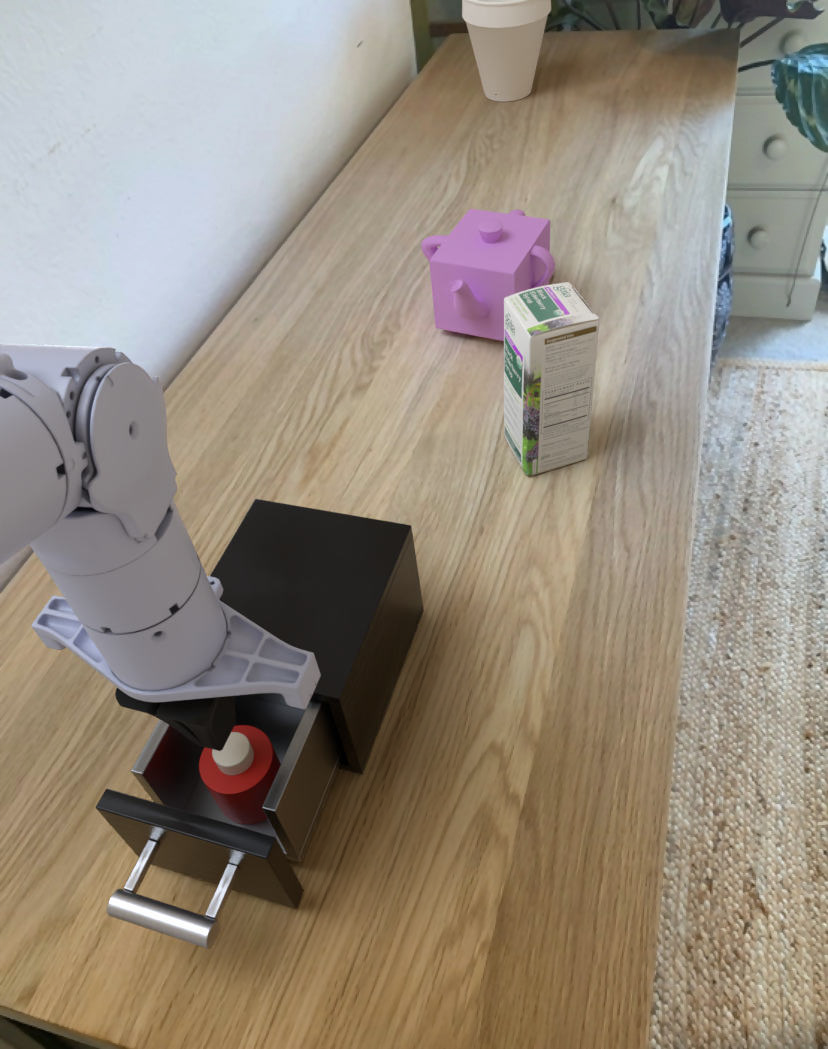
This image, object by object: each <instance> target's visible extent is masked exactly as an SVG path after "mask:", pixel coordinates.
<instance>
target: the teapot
mask: <svg viewBox="0 0 828 1049" xmlns="http://www.w3.org/2000/svg"><path fill="white" fill-rule="evenodd" d="M420 249H421V251H422V253H423V255H424V257H425V258H426V259H427V261H428V262H429V274H430V284H431V293H432V305H433V317H434V326H435V329H437V330H444V331H448V332H453V333H458V334H459V333H460V334H464V335H469V336H474V337H480V338H485V339H490V340H494V341H495V340H496V341H500V342H501V341H502V342H504V298H505V297H508V296H510V295H513V294H516V293H519V292H522V291H525V290H528V289H532V288H536V287H541V286H545V285H550V279H551V278H552V276H553V274H554V272H555V269H556V268H555V267H556V262H555V258H554V257H553V255H552V254H551V219H549V218H541V217H535V216H529V215H526V212H524V210H522V209H518V208H517V209H513V210H511V211H510V212H509V213H505V212H499V211H491V210H483V209H475V208H469V209H468V211H467V212H466V213H465V214H464V215H463V217H462V218H461V219H460V220H459V222H458V223H457V224H456V225H455V226H454V227H453V229H452V230H451V231H450V233H449V234H436V235H435V234H434V235H430V236H427V237H425V238H424V239H423V240H422V241H421V243H420Z"/></svg>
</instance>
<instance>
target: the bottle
mask: <svg viewBox="0 0 828 1049" xmlns="http://www.w3.org/2000/svg"><path fill="white" fill-rule="evenodd" d="M280 766H281V763H280V761H279V759H278V757H277V754H276V752H275V750H274V748H273V746H272V743H271V741H270V739H269V738H268V736H267V735H266V734H265V733H264V732H263V731H261V730H260V729H258V728H256V727H253V726H248V725H238V726H234V727H233V729H232V732H231V734H230V736H229V738H228V740H227V742H226V744H225V746H224V748H223V750H221V751H218V750H214V749H210V748H206V747H205V748H204V749H203V751H202V754H201V757H200V762H199V771H200V775H201V778H202V780H203V782H204V783H205V785H206V787H207V788H208V790H209V791H210V793H211V795H212V796H213V798H214V799H215V801H216V803H217V804H218V806H219V807H220V809H221V811H222V812H223V814H224V815H225V816H226V817H227V818H228V819H230V820H232V821H233V822H236V823H239V824H255V823H259V822H261V821H264V820H266V819H267V816H266V814H265V812H264V810H263V809H262V807H263V804H264V802H265V800H266V798H267V795H268V793H269V791H270V789H271V786H272V784H273V782H274V780H275V777H276V775H277V773H278V771H279V768H280Z"/></svg>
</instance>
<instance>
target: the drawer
mask: <svg viewBox="0 0 828 1049" xmlns="http://www.w3.org/2000/svg"><path fill="white" fill-rule="evenodd" d="M235 713H236V723H235V725H234V726H238V725H248V726H253V727H256V728H258V729H260V730H261V731H263V732H264V733H265V734H266V735H267V736H268V738H269V739H270V741H271V743H272V746H273V748H274V750H275V752H276V754H277V757H278V759H279V761H280V763H281V766H280V768H279V771H278V773H277V775H276V777H275V780H274V782H273V784H272V786H271V789H270V791H269V793H268V795H267V798H266V800H265V802H264V804H263V807H262V809H263V810H264V812H265V814H266V816H267V819H266V820H264V821H261V822H259V823H255V824H239V823H236V822H233V821H232V820H230V819H228V818H227V817H226V816H225V815H224V814H223V812H222V811H221V809H220V807H219V806H218V804H217V803H216V801H215V799H214V798H213V796H212V795H211V793H210V791H209V790H208V788H207V787H206V785H205V783H204V782H203V780H202V778H201V775H200V771H199V762H200V757H201V754H202V751H203V749H204V748H205V747H202V746H199V745H197V744H195V743H194V742H192V741H191V740H189V739H188V738H187V737H185V736H184V735H183V734H181V733H180V732H179V731H177V730H176V729H174V728H173V727H171V726H170V725H168V724H167V723H165V722H164V721H162V720H160V719H158V721H157V723H156V724H155V727H154V728H153V730H152V732H151V734H150V735H149V737H148V739H147V741H146V742H145V744H144V746H143V748H142V750H141V751H140V753H139V755H138V756H137V759H136V760H135V762H134V764H133V765H132V767H131V769H130V772H131V774H132V775H133V776H134V777H135V779H136V780H137V781H138V783H139V784H140V785H141V787H142V788H143V790H144V791H145V792H146V794H147V795H148V796H149V797H150V800H149V799H145V798H142V797H139V796H136V795H135V796H134V795H131V794H127V793H124V792H121V791H117V790H114V789H111V788H106V789H104V792H103V793H102V795H101V797H100V799H99V800H98V802H97V803H96V806H95V809H96V810H97V811H98V813H99V814H100V815H101V816H102V817H103V818H104V819H105V820H106V822H107V823H108V824H109V825H110V826H111V827H112V828H113V830H114V831H115V832H116V833H117V834H118V835H119V836H120V838H121V839H122V840H123V841H124V843H125V844H127V846H128V847H129V848H130V849H131V850H132V851H133V853H134V854H135V855H136V856H137V857H138V859H137V861H136V863H135V865H134V867H133V868H132V870H131V872H130V874H129V876H128V877H127V879H126V882H125V883H124V884H125V885H123V888H117V889H116V890H115V891H113V893H112V894H111V896H110V898H109V899H108V902H107V907H106V913H107V916H108V917H111V918H114V919H118V920H120V921H122V922H125V923H128V924H129V923H130V924H132V925H135V926H138V927H141V928H143V929H146V930H150V931H152V932H155V933H159V934H161V935H164V936H167V937H171V938H174V939H177V940H180V941H183V942H185V943H188V944H192V945H194V946H198V947H200V948H203V949H206V950H210V949H212V947H213V946H215V944H216V942H217V940H218V936H219V934H220V930H221V923H220V920H219V919H220V917H221V915H222V912H223V910H224V908H225V905H226V904H227V901H228V899H229V897H230V894H231V892H232V891H235V892H239V893H242V894H245V895H247V896H251V897H255V898H258V899H260V900H264V901H267V902H269V903H274V904H277V905H280V906H283V907H285V908H290V909H293V910H297V909H298V908H299V905H300V902H301V900H302V897H303V895H304V892H305V889H304V887H303V885H302V883H301V881H300V879H299V877H298V876H297V873H296V871H294V869H293V866H292V865H291V862H290V861H289V860H291V861H294V862H298V863H302V862H303V860H304V857H305V854H306V851H307V849H308V847H309V845H310V842H311V839H312V836H313V834H314V831H315V829H316V827H317V824H318V821H319V819H320V816H321V814H322V812H323V808H324V806H325V804H326V801H327V799H328V796H329V793H330V791H331V788H332V785H333V783H334V781H335V778H336V777H337V776H336V775H337V774H338V771H339V769H338V768H339V766H340V763H341V761H342V758H343V755H344V753H345V751H344V748H343V745H342V742H341V738H340V735H339V732H338V729H337V726H336V723H335V720H334V717H333V714H332V711H331V708H330V705H329V703H328V702H324V701H320V700H315V699H310V701H309V703H308V705H307V708H306V709H300V708H296V707H291V706H289V705H287V703H286V701H285V698H284V696H283V695H282V694H280V693H259V694H247V695H236V696H235ZM151 866H155V867H158V868H162V869H165V870H168V871H171V872H174V873H176V874H177V873H178V874H181V875H183V876H187V877H190V878H194V879H195V880H196V879H197V880H200V881H203V882H207V883H210V884H212V885H215V886H217V887H216V889H215V892H214V894H213V896H212V898H211V900H210V902H209V905H208V907H207V909H206V912H205V914H204V915H203V914H200V913H197V912H194V911H190V910H188V909H185V908H182V907H178V906H175V905H174V904H173V905H172V904H170V903H167V902H163V901H160V900H157V899H154V898H151V897H148V896H145V895H142V894H139V893H138V891H139V889H140V887H141V885H142V883H143V881H144V880H145V877H146V875H147V873H148V871H149V870H150V867H151Z"/></svg>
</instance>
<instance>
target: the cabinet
mask: <svg viewBox="0 0 828 1049" xmlns="http://www.w3.org/2000/svg"><path fill="white" fill-rule="evenodd" d="M209 576H210V577H215V578H217V579H219V581H220V583H221V585H222V587H223V593H222V595H221V597H220V599H219V600H220V601H221V602H223V603H224V604H226V605H227V606H229V607H230V608H232V609H233V610H235V611H237V612H238V613H240V614H241V615H243V616H244V617H246V618H247V619H249V620H250V621H252V622H253V623H255V624H257V625H258V626H260V627H261V628H263V629H264V630H266V631H267V632H269V633H270V634H272V635H273V636H275V637H277V638H278V639H280V640H281V641H283V642H285V643H287V644H289V645H291V646H293V647H295V648H298V649H301V650H305V651H308V652H313V653H314V656H315V659H316V662H317V665H318V668H319V671H320V674H321V676H320V678H319V681H318V683H317V685H316V688H315V690H314V692H313V695H312V697H311V699H315V700H320V701H324V702H328V703H329V705H330V708H331V711H332V714H333V717H334V720H335V723H336V726H337V729H338V732H339V735H340V738H341V742H342V745H343V748H344V751H345V753H344V755H343V758H342V761H341V763H340V766H339V768H338V770H343V771H345V772H346V771H347V772H350V773H355V774H357V775H362V776H363V775H364V773H365V770H366V768H367V764H368V762H369V759H370V757H371V753H372V751H373V748H374V746H375V743H376V740H377V737H378V735H379V733H380V730H381V727H382V724H383V721H384V718H385V716H386V713H387V711H388V709H389V706H390V702H391V700H392V698H393V695H394V692H395V689H396V687H397V684H398V682H399V679H400V676H401V674H402V671H403V667H404V666H405V662H406V660H407V657H408V654H409V652H410V649H411V647H412V644H413V642H414V639H415V635H416V633H417V630H418V628H419V626H420V622H421V620H422V617H423V614H424V612H425V610H424V600H423V595H422V588H421V582H420V574H419V569H418V561H417V553H416V548H415V541H414V533H413V528H412V525H411V524H405V523H401V522H394V521H388V520H383V519H377V518H371V517H366V516H360V515H353V514H347V513H341V512H335V511H331V510H326V509H325V510H324V509H319V508H313V507H306V506H301V505H295V504H289V503H285V502H284V503H283V502H277V501H272V500H267V499H260V498H255V499H254V500H253V502H252V504H251V505H250V506H249V508H248V510H247V512H246V513H245V516H244V517H243V519H242V521H241V522H240V523H239V526H238V528H237V529H236V531H235V532H234V534H233V536H232V537H231V539H230V541H229V542H228V544H227V546H226V547H225V549H224V551H223V552H222V555H221V556H220V558H219V559H218V561H217V563H216V565H215V566H214V567H213V570H212V572H211V573H210V574H209Z"/></svg>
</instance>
